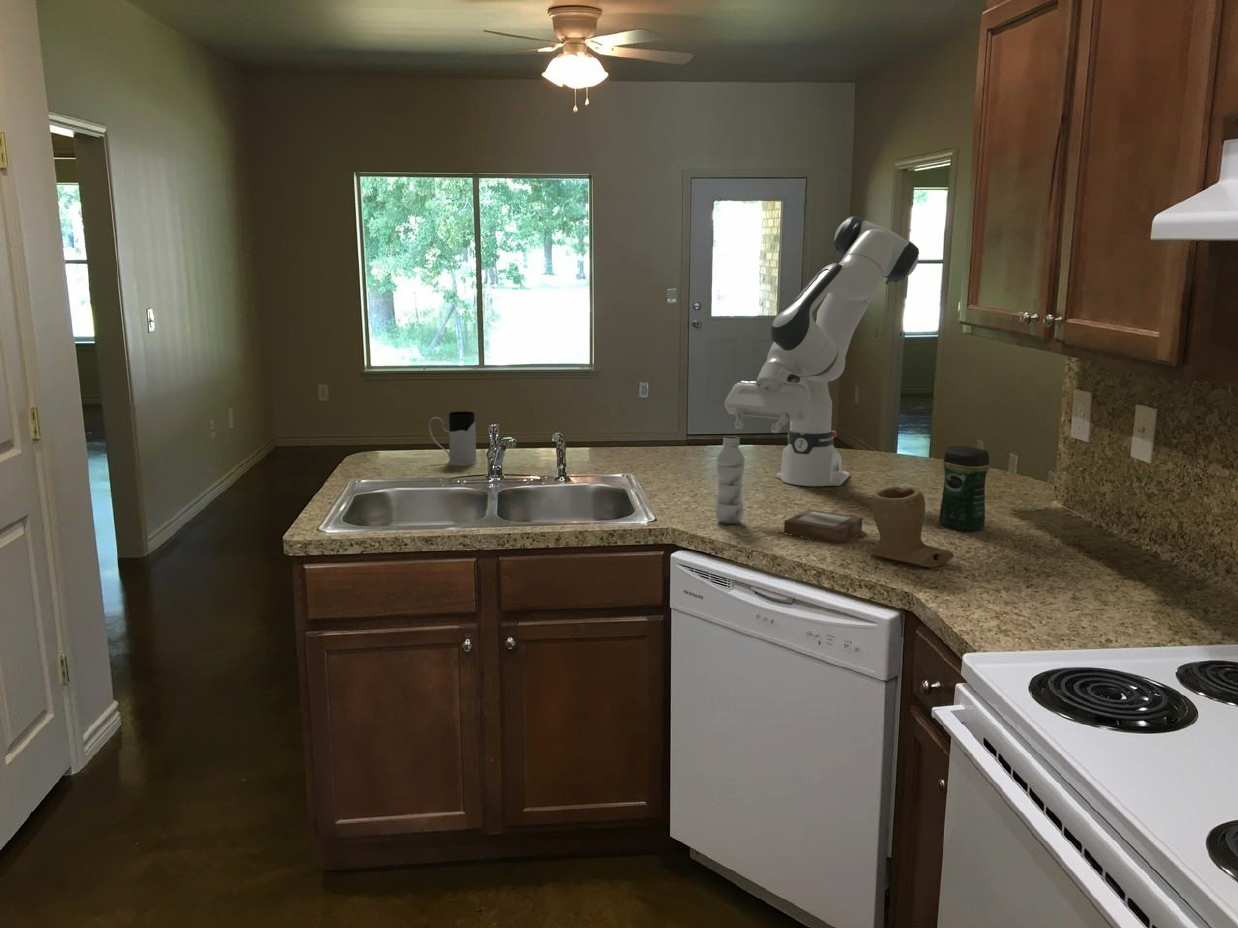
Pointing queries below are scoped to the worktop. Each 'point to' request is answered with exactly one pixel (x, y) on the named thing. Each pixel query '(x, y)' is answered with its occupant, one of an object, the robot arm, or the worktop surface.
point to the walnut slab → (823, 525)
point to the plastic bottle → (730, 482)
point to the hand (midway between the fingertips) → (755, 429)
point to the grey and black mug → (460, 438)
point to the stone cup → (903, 528)
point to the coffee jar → (964, 488)
